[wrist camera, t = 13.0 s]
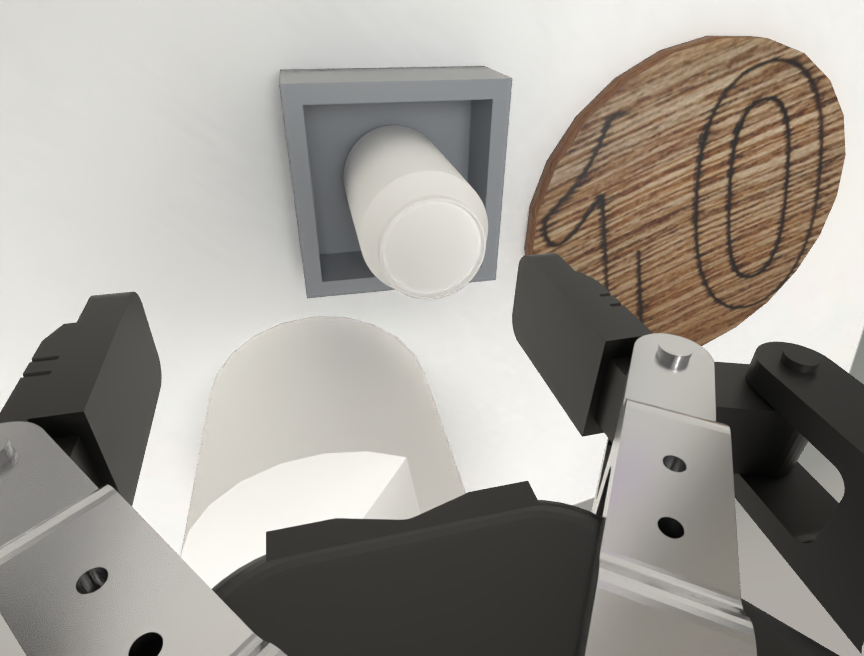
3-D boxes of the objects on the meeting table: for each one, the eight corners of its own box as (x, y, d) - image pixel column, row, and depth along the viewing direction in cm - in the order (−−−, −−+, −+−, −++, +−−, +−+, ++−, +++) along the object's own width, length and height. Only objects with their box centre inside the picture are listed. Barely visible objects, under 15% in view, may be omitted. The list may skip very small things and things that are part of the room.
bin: (304, 262, 37) (307, 298, 33) (280, 69, 31) (279, 83, 27) (473, 248, 39) (495, 279, 35) (484, 66, 33) (512, 78, 29)
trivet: (562, 390, 50) (571, 404, 48) (480, 131, 35) (489, 138, 34) (816, 277, 49) (833, 287, 47) (836, -34, 35) (862, -34, 33)
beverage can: (337, 123, 32) (360, 187, 22) (440, 119, 33) (506, 179, 23) (345, 223, 35) (367, 318, 25) (438, 216, 36) (494, 305, 27)
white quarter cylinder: (465, 360, 45) (654, 763, 22) (368, 499, 51) (434, 926, 28) (262, 281, 37) (221, 772, 14) (177, 456, 43) (53, 993, 20)
